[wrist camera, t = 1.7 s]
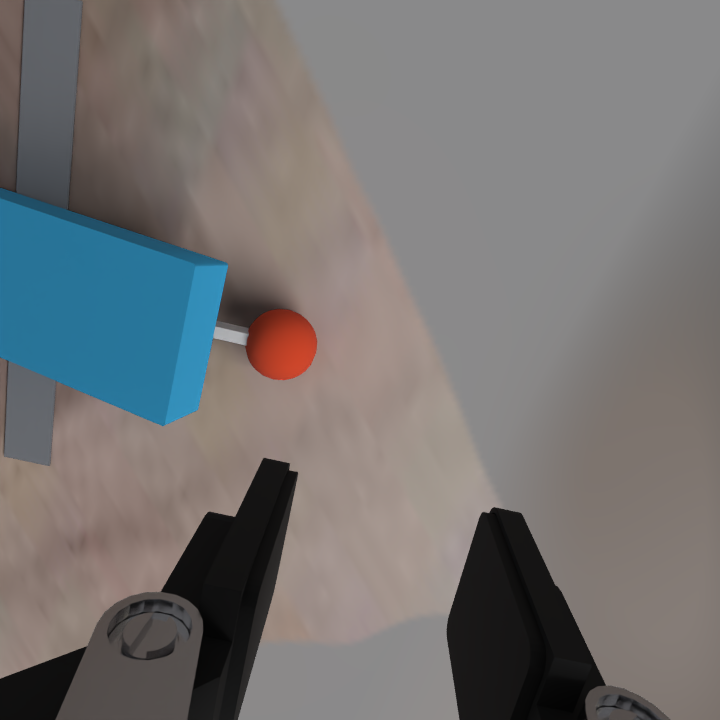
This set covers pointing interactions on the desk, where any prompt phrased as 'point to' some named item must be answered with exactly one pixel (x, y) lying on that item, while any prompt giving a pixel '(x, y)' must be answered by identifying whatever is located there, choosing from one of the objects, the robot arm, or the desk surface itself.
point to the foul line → (43, 187)
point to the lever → (124, 312)
